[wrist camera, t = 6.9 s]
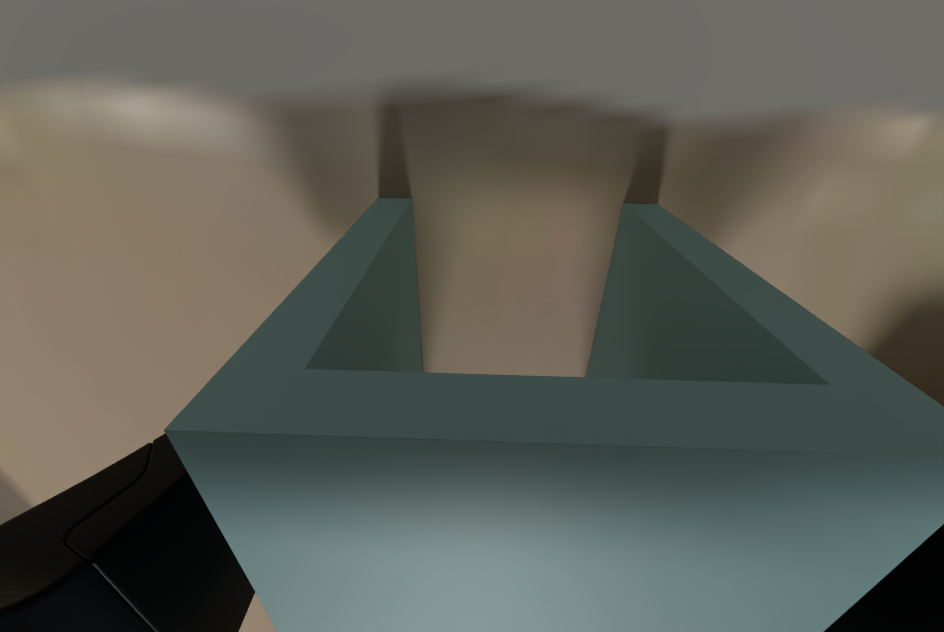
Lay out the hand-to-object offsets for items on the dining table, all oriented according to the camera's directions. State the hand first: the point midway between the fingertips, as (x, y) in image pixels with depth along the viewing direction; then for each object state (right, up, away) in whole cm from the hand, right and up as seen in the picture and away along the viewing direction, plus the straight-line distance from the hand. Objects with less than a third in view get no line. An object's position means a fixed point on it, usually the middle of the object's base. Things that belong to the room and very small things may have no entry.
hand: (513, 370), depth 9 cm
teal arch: (0, +1, +2) cm, 2 cm away
